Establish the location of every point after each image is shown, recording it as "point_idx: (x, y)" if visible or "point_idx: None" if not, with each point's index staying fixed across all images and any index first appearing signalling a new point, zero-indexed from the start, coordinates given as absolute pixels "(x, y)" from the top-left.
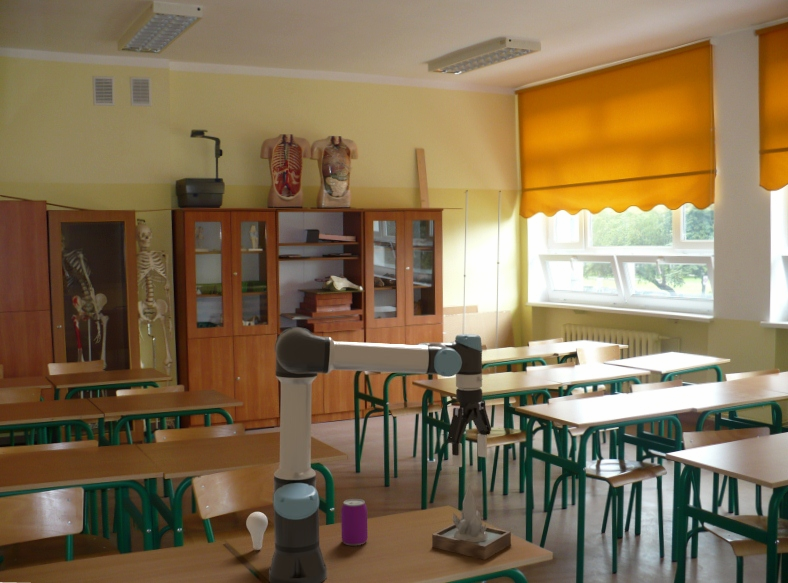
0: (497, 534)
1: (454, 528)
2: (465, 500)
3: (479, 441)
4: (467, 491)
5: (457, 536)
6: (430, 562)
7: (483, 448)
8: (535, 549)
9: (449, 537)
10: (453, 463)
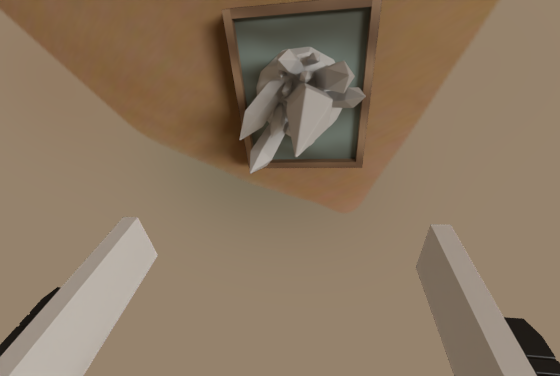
0: (347, 140)
1: (328, 13)
2: (288, 117)
3: (477, 353)
4: (291, 137)
5: (261, 81)
6: (164, 76)
7: (441, 312)
8: (357, 197)
9: (237, 72)
10: (117, 232)
